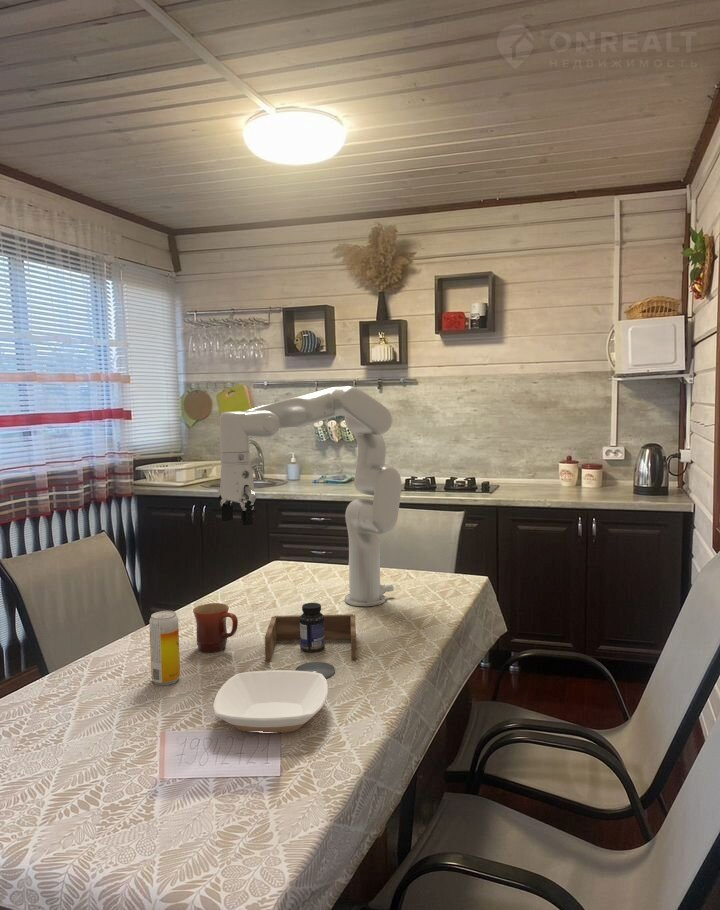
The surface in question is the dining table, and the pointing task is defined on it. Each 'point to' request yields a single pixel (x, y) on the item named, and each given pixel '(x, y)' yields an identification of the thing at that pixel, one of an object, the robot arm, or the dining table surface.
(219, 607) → the mug
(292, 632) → the u-shaped wooden arch
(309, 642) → the pill bottle
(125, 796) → the dining table surface
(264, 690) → the bowl
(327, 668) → the slate coaster
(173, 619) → the beer can
